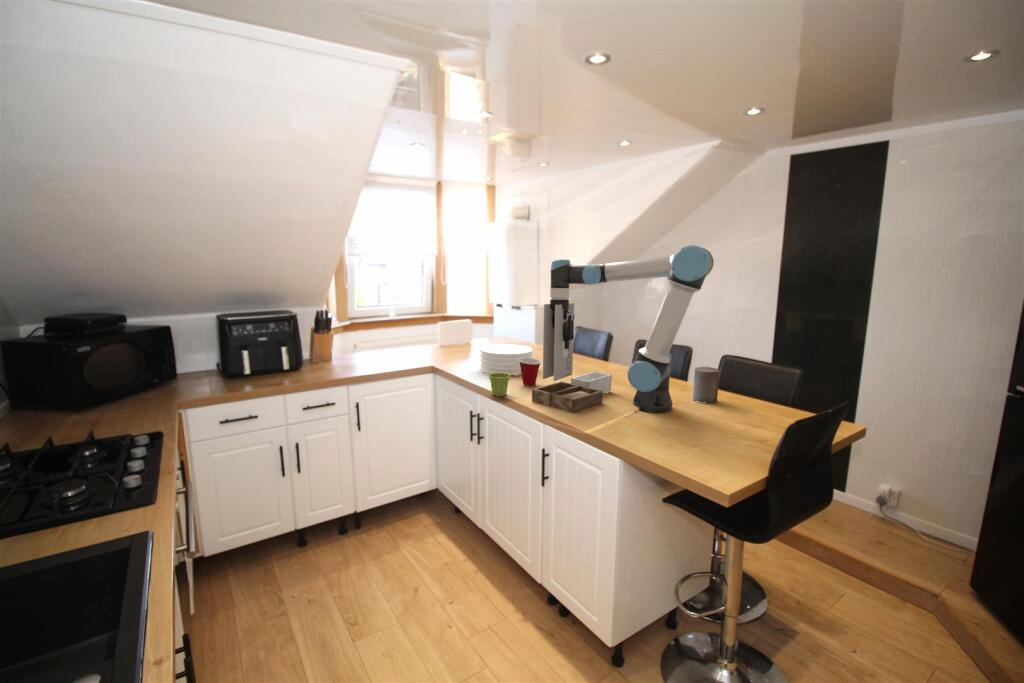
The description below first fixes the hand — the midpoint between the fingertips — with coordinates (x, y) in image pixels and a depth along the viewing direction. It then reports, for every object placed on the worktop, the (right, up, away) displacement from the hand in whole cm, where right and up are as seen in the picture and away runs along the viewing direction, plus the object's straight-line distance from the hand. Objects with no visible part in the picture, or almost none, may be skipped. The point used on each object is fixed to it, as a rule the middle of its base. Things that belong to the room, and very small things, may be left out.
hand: (558, 355), depth 186 cm
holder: (+16, -17, +15) cm, 28 cm away
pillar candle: (+63, -20, +8) cm, 66 cm away
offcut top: (+7, -18, -4) cm, 19 cm away
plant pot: (-24, -18, +12) cm, 32 cm away
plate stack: (-22, -10, +60) cm, 65 cm away
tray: (+3, -20, 0) cm, 20 cm away
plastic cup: (-10, -15, +29) cm, 35 cm away
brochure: (0, -9, +1) cm, 9 cm away
